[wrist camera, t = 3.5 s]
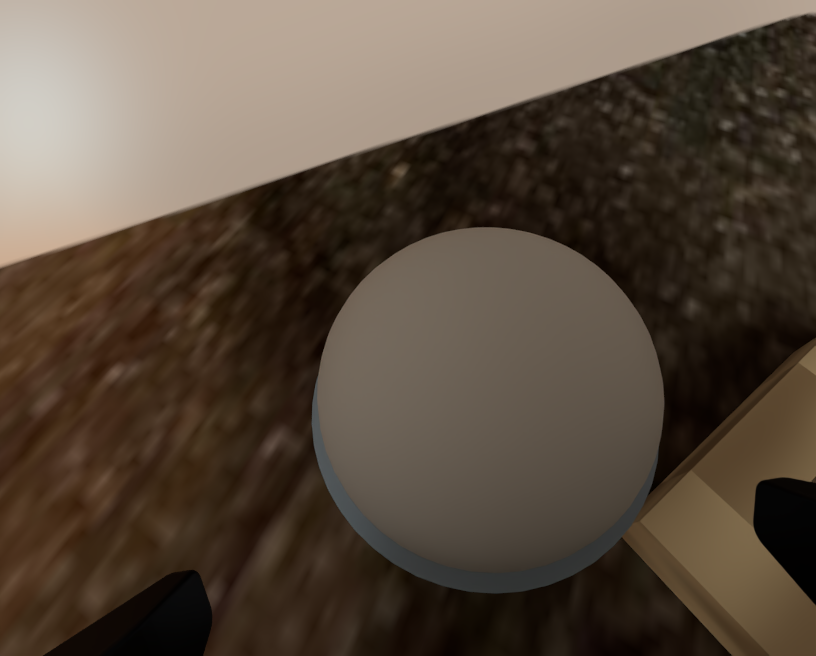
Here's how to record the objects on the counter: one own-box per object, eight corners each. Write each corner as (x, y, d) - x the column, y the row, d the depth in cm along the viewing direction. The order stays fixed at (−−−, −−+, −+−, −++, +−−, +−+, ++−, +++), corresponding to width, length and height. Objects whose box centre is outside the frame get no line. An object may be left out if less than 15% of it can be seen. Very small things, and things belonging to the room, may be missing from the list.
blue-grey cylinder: (523, 539, 17) (893, 335, 3) (449, 607, 16) (477, 786, 2) (459, 461, 18) (505, 85, 4) (388, 521, 17) (166, 285, 4)
